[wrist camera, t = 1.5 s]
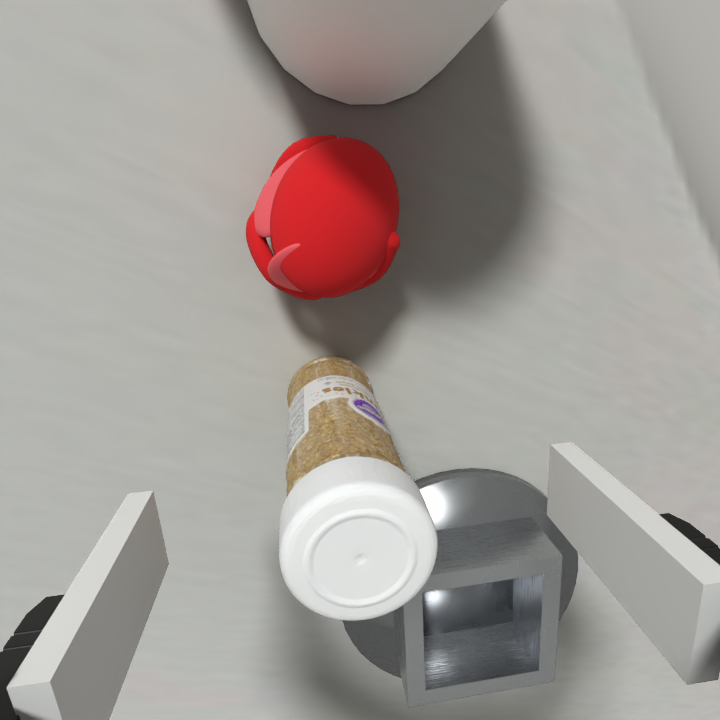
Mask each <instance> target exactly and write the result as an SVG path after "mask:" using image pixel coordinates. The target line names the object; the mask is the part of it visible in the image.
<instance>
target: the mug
mask: <svg viewBox="0 0 720 720" xmlns="http://www.w3.org/2000/svg"><path fill="white" fill-rule="evenodd" d="M247 2H248V4H249V7H250V10H251V12H252V15H253V18H254V21H255V23H256V26H257V29H258V32H259V34H260V36H261V38H262V39H263V40H264V42H265V43H266V45H267V46H268V47H269V49H270V50H271V52H272V53H273V54H274V56H275V57H276V59H277V60H278V61H279V63H280V64H281V66H282V67H283V68H284V69H285V70H286V71H287V72H289V73H290V74H291V75H292V76H294V77H295V78H296V79H298V80H299V81H300V82H302V83H303V84H304V85H305V86H307V87H308V88H309V89H311V90H312V91H313V92H315V93H317V94H320V95H323V96H326V97H329V98H332V99H334V100H337V101H340V102H343V103H346V104H385V103H388V102H391V101H393V100H396V99H399V98H401V97H404V96H407V95H409V94H412V93H415V92H416V91H418V90H419V89H420V88H421V87H422V86H424V85H425V84H426V83H427V82H428V81H430V80H431V79H432V78H433V77H434V76H436V75H437V74H438V73H439V72H440V71H442V70H443V69H444V68H445V67H446V66H447V64H448V63H449V62H450V61H451V60H452V59H453V58H454V57H455V56H456V55H457V54H458V53H459V51H460V50H461V49H462V48H463V47H464V46H465V45H466V44H467V43H468V42H469V41H470V40H471V38H472V37H473V36H474V35H475V34H476V33H477V32H478V31H479V30H480V29H481V28H482V26H483V25H484V24H485V23H486V22H487V21H488V20H489V19H490V18H491V17H492V16H493V15H494V13H495V12H496V11H497V10H498V9H499V8H500V7H501V6H502V5H503V4H504V3H505V2H506V0H247Z"/></svg>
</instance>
